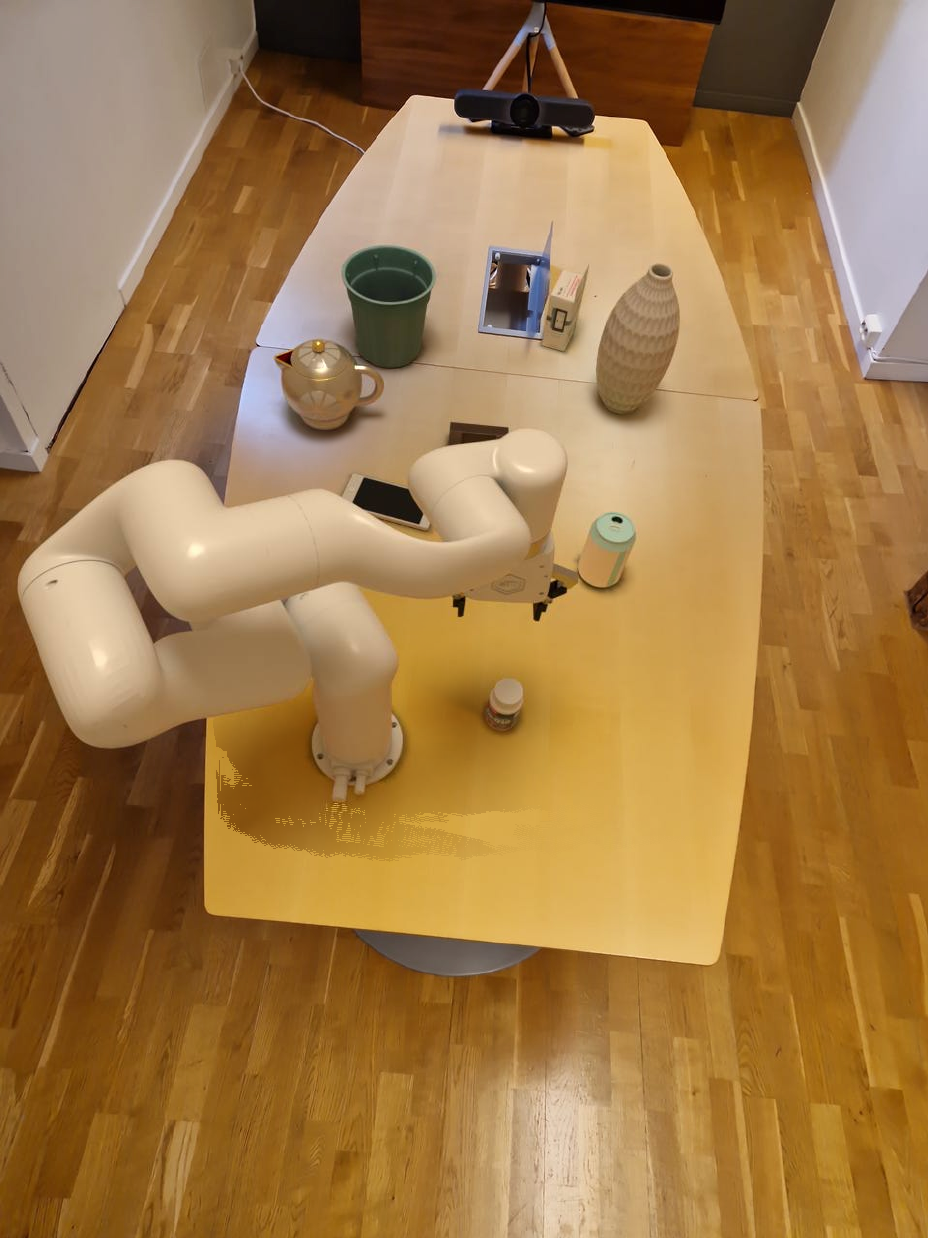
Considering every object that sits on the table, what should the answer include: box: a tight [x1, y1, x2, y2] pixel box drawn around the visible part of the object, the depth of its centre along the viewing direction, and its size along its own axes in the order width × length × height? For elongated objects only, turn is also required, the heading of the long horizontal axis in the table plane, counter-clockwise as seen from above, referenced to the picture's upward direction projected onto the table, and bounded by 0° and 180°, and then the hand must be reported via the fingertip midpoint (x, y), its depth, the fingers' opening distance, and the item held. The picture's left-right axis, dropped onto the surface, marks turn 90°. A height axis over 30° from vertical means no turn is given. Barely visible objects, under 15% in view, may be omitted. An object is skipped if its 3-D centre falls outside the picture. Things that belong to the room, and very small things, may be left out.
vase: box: [595, 262, 681, 415], centre depth 140 cm, size 13×13×28 cm
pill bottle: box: [484, 677, 524, 731], centre depth 114 cm, size 5×5×8 cm
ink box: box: [541, 262, 590, 352], centre depth 155 cm, size 8×5×15 cm, turn 160°
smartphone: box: [341, 473, 431, 532], centre depth 136 cm, size 7×16×1 cm, turn 74°
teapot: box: [273, 338, 385, 431], centre depth 139 cm, size 18×14×16 cm
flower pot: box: [341, 244, 437, 369], centre depth 149 cm, size 16×16×16 cm
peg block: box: [447, 421, 510, 446], centre depth 141 cm, size 10×10×4 cm
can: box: [577, 511, 637, 588], centre depth 127 cm, size 7×7×12 cm
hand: (498, 609), depth 103 cm, fingers open, 9 cm apart
